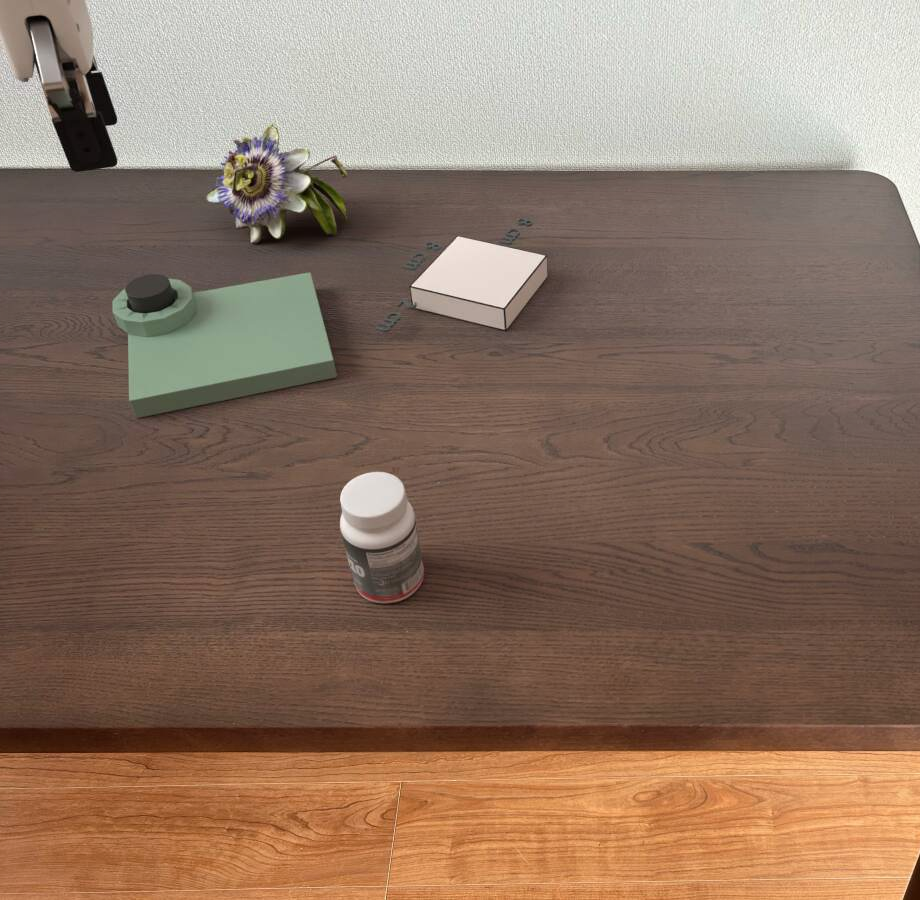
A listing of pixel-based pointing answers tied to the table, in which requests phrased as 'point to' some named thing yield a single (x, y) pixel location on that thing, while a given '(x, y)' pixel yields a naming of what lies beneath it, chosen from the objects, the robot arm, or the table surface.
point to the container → (476, 281)
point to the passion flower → (273, 187)
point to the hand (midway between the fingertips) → (95, 144)
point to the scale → (224, 343)
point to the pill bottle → (381, 538)
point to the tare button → (150, 293)
